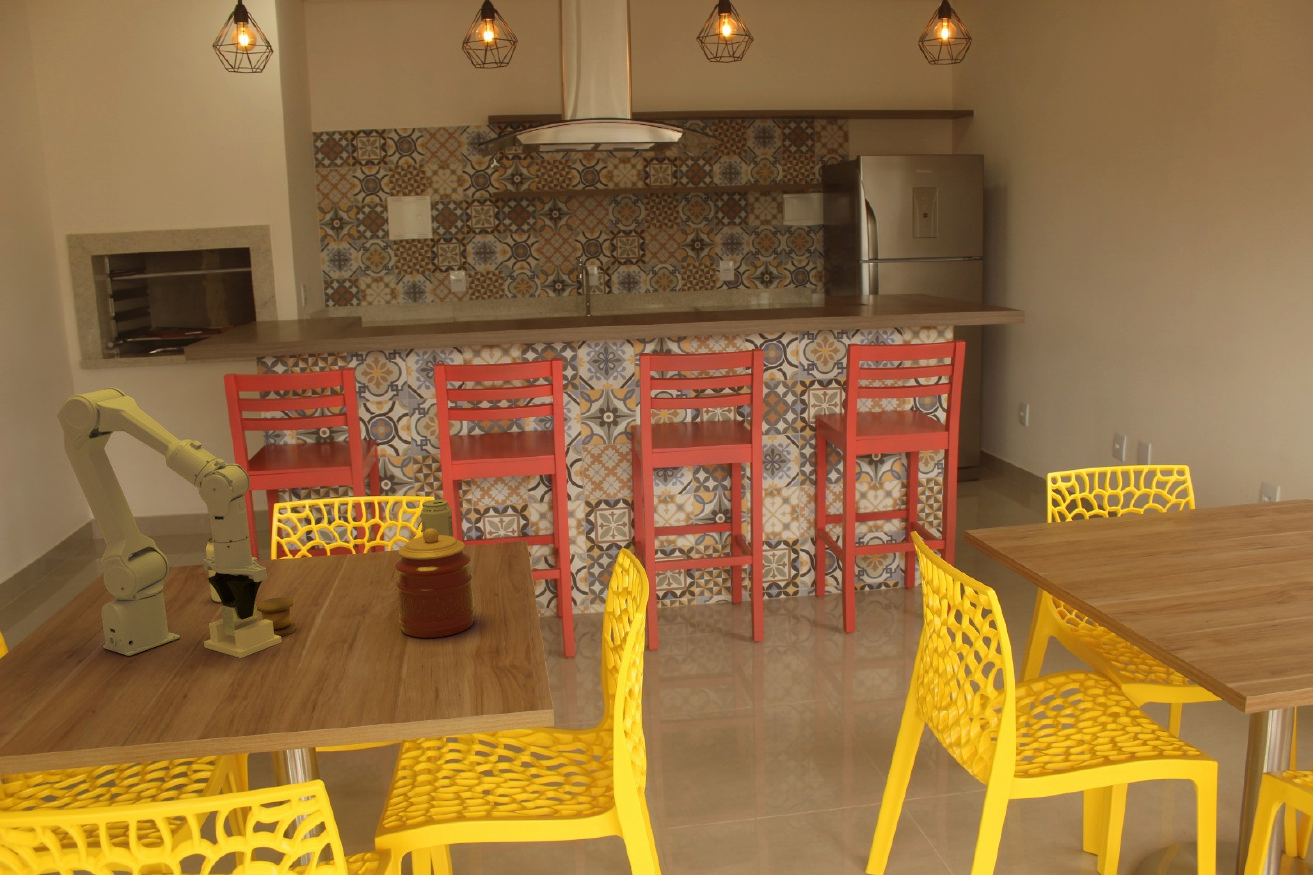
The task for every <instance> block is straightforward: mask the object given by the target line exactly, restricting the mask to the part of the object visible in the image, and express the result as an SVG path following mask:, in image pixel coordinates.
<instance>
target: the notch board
mask: <svg viewBox="0 0 1313 875" xmlns="http://www.w3.org/2000/svg"><path fill="white" fill-rule="evenodd" d="M208 626H209V637H210V639H208V640H205V641H203V645H204V648H205V649H209V650H212V651H216V652H219V653H222V654H225V655H228V656H229V655H230V656H232V657H236V658H239V659H242V658H245V657H247V656H250V655H252V654H255V653H258V652H260V651H262V650H265V649H268V648H270V647H272V646H275V645H278V644H281V643H282V637H281V636H277V635H274V630H273V621H270V620H266V619H264V620H262V619H261V620H258V622H256V623H254V624H251V625H248V626H245V627H243V628H240V629H237V630H234V632H235V636H231V635H228V634H224V626H223V618H220V619H217V620H216V621H213V622H209V623H208Z"/></svg>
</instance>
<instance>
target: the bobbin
mask: <svg viewBox="0 0 1313 875" xmlns="http://www.w3.org/2000/svg"><path fill="white" fill-rule="evenodd" d="M293 606H294V600H293V599H292V598H289V597H273V598H269V599H264V600H261V601H260V602H258V603H256V609H257V612H260V613H261V617H262V618H261V621H262V620H264V619H266V620H270V621H273V630H274V635H277V636H281V638H282V637H284V636H288V635H291V634H293V633H294V632H296V630H297V626H296V623H295V622H293V621H292V620H291V611H290V608H292V607H293Z"/></svg>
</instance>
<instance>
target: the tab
mask: <svg viewBox="0 0 1313 875" xmlns="http://www.w3.org/2000/svg"><path fill="white" fill-rule="evenodd" d="M220 605H221V606H220V607H221V614H222V619H223V626H224V634H228V635H231V636H235V632H234V630H237V629H240V628H243V627H245V626H248V625H251V624H254V623H256V622H259V620H258V610H257V600H256V599H255V605H254V612H253V616H252V617H249V618H246V619H243V620H242V619H240V617H239V614H238V611H237V606H236V601H233V602H230V603H226V604H220Z"/></svg>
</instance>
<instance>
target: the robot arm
mask: <svg viewBox="0 0 1313 875" xmlns="http://www.w3.org/2000/svg"><path fill="white" fill-rule="evenodd" d="M56 416H57V418H58V421H59V424H60V426H61V428H62V431H63V446H64V450H65V453H66V455H67V457H68V460H69V463H70V464H71V467H72V469H73V472H74V474H75V476H76V478H77V481H78V484H79V485H80V488H81V489H82V493H83V494H84V498H85V499H86V501H87V504H88V506H89V508H90V511H91V513H92V516H93V518H94V520H95V522H96V524H97V527H98V529H99V531H100V533H101V536H102V537H103V540H104V543H105V544H106V547H105V550H104V553H103V554H102V557H101V558H100V564H101V567H102V571H103V583H104V586H105V588H106V590H107V591H108V593H110V595H111V596H113V598H114V599H112V600H111V601H109V602H106V603H104V605H103V606H102V607H101V613H100V614H101V616H100V617H101V622H102V628H103V636H104V645H102V646H103V649H105V650H109V651H112V652H115V653H118V654H120V655H121V654H122V655H123V656H124V655H125V656H127V657H129V656H134V655H135V654H139V653H141V652H144V651H146V650H147V651H148V650H150V649H153V648H155V647H159V646H161V645H165V644H166V643H170V642H172V641H175V640H178V639H180V638H181V637H180V635H179V634H176V633H172V632H170V631H169V629H168V628H169V626H168V620H167V619H168V618H167V613H166V612H167V610H166V604H165V596H164V590H163V588H164V586H165V582H164V580H166V578H167V577H168V576H169V574H170V573H169V572H170V563H169V560H168V558H167V556H166V555H165V553H164V552H162V551H161V550H160V549H159V547H158V546H157V544H156V542H155V540H154V539H153V538H151V537H149V536H147V535H145V534H143V533H141V530H140V529H139V526H138V523H137V520H136V519H135V517H134V514H133V513H132V510H131V508H130V505H129V503H128V501H127V498H126V496H125V493H124V491H123V489H122V487H121V485H120V482H119V480H118V477H117V474H116V473H115V471H114V468H113V466H112V464H111V461H110V458H109V457H108V454H107V452H106V450H105V448H106V445H107V443H108V441H109V440H110V437H111V435H112V434H113V433H114V432H125V433H127V434H128V435H130V436H132V437H133V438H134V439H136V440H138V441H140V442H141V443H143V444H145V445H146V446H147V447H149V448H151V449H153V450H154V451H155V452H158V453H159V454H161V455H162V456H164V457H165V458H164V459H165V463H166V464H165V465H166V466H167V468H169V469H170V470H171V471H173V472H174V473H175V474H177V475H178V476H180V478H181V477H182V478H183V479H185V480H186V482H188V483H190V484H192V485H193V486H194V487H196V488H197V490H198V494H199V496H200V498H201V499H202V501H203V502H204V503H205V505H206V507H207V513H209V514H208V515H209V521H210V528H211V537H212V539H213V547H214V556H215V557H210V558H207V557H206V558H204V559H202V563H203V570H204V571H206V572H207V571H210V570H214V571H215V572H216V574H215V576H212V577H209V576H208V582H209V585H210V584H211V585H212V586H213V587H214V589H215V590H216V592H217V593H218V595H219V597H220V599H221V602H222V603H221V605H223V604H226V603H230V602H233V601H236V606H237V611H238V614H239V617H240V619H242V620H243V619H246V618H249V617H252V616H253V612H254V605H255V600H256V598H257V594H258V591H259V588H260V586H261V584H262V583H263V581H265V580H268V572H267V568H266V567H264V566H262V565H260V564H258V558H257V557H254V556H252V548H251V539H250V532H249V531H250V530H249V522H248V513H247V504H246V494H247V493H248V492H249V490H250V487H251V478H250V476H249V473H248V472H247V471H246V470H245V469H244V468H243V466H241V465H240V464H238V463H226V462H225V460H224V459H222V458H218V457H217V456H215V455H214V454H212V453H211V452H210V451H208V450H206V449H205V448H203V447H202V446H203V444H202V442H200V441H198V440H197V439H196V440H192V439H189V438H187V439H182V440H181V439H179V438H177V437H176V436H175V435H174V434H172V433H171V432H170V431H168V430H167V428H165V427H164V426H162V425H161V424H160V423H159V422H157V420H155V419H154V418H152V417H151V416H150V415H148V413H146V412H145V411H144V410H143V409H141V408H140V407H139V406H138V404H137V401H136V400H135V398H133V397H131V396H129V395H127V394H126V393H125V392H124V391H123V390H121V389H119V388H117V387H110V386H109V387H106V388H103V389H100V390H95V391H92V392H91V391H90V392H87V393H82V394H81V393H80V394H78V393H77V394H72V395H70V396H68V397H67V398H66V399H65V400H64V401H63V403H62V405H61V406H60V408H59V411H58V413H57V415H56Z"/></svg>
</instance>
